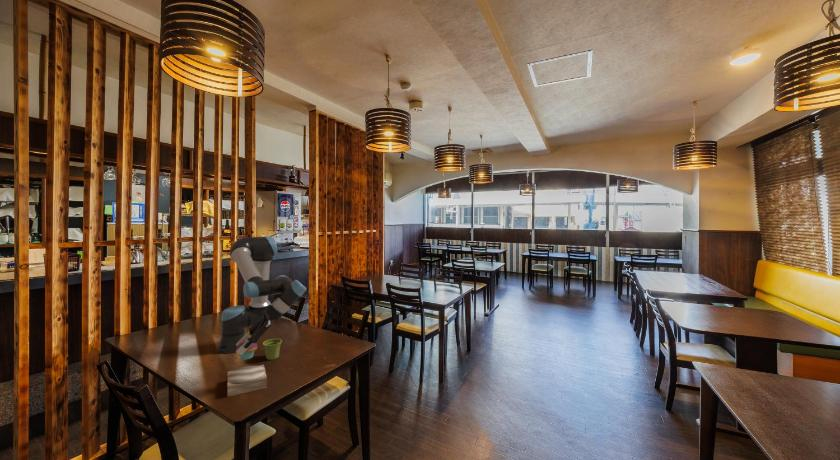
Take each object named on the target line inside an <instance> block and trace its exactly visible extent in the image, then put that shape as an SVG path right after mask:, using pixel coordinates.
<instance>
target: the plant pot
mask: <svg viewBox="0 0 840 460" xmlns="http://www.w3.org/2000/svg"><path fill="white" fill-rule="evenodd" d="M282 342H283V340H282V339H281V338H270V339H267V340H264V341H263V342H262V345H263V347H264V351H265V356H266V358H265V359H266V360H270V361H273V360H276V359H278V358H279V357H280V349H281V344H282Z"/></svg>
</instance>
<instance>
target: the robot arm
mask: <svg viewBox="0 0 840 460" xmlns="http://www.w3.org/2000/svg"><path fill="white" fill-rule="evenodd" d="M277 255H278V246H277V242H276V239H275V238H274V237H272V236H245V237H241V238H238V239H236V241H235V242H233V243H232V245H231V246H230V248H229V256H230V259H231V261H233V262H234V263H235V264H236V266H237V268H238V271H239V272H240V274H241V276H242V278H243V280H244V284H243V286H242V289H243V296H244V297H245V298H246V299H251V300H250V301H249V302H248V306H245V305H243V304H241V305H240V304H239V305H237V304H236V305H233V306H229V307H227V308H225V309H224V310H223V311H222V312H221V315H220V316H221V317H220V320H221V321H220V322H221V324H220V325H221V329H220V330H221V331H220V332H221V333H220V335H221V337H220V340H219V341H218V342H219V343H218V346H217V352H219V353H220V354H232V353H237V354H238V355H239V354H240V355H242V354H243V353H244V352H245V351H246V350H247V349H248V348H249V347H250V346H251V345H252V344H253V343H257V342H258V341H259V340H260V339H261V338H262V336H263V335H264V334H265V333H266V331H268V329H270V327H272V322H273V321H274V320H275V321H279V320H280V319H281V318H282V317H283V316H284V314H286V312H287V311H290V308H292V307H293V305H294V304H296V303H297V301H298V300H299V299H300V298H301V297H302V296H303V295H304V294H305V292H307V287H306V286H305V285H303V284H302V282H300V280H298V279H294V280H292V278H290V277H288V276H286V275H285V274H283V275H278V276H277V277H276V278H274V279H270V268H271V267H270V266H271V262H272V261H273V259H274V257H276V256H277ZM274 295H279V296H278V297H276V298H275V299H274V301H273V302H272V303H271V301H270V300H269V296H274ZM246 328H248V331H250V333H249V338H248V332H246ZM247 339H248V340H247ZM242 342H245V343H244V344H243V345H242V346H241V347H240V348H239V349H238V350H237V351H236V347H237V346H238V345H239V344H241V343H242ZM240 355H239V356H240Z"/></svg>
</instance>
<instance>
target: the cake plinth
mask: <svg viewBox="0 0 840 460" xmlns="http://www.w3.org/2000/svg"><path fill="white" fill-rule="evenodd" d="M267 388H268V377H267V373H266V368H265V365H264V364H262V365H248V366H243V367H239V368H236V369H235V370H231V371H227V397H229V398H230V397H234V396H237V395H242V394H246V393H249V392H255V391H259V390H263V389H267Z"/></svg>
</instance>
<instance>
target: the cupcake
mask: <svg viewBox="0 0 840 460" xmlns="http://www.w3.org/2000/svg"><path fill="white" fill-rule="evenodd" d="M247 333H248V338H249V333H250V331H249V330H248V331H247ZM247 340H248V339H247ZM244 343H245V342H242V343H241V344H239V345H238V346H237V347H236V351H237V350H238V349H239V348H240V347H241V346H242V345H243V344H244ZM257 349H258V343H257V342H256V343H253V344H252V345H251V346H250V347H249V348H248V349H247V350H246V351H245V352H244V353H243V354H242V355H240V354H238V355H239V357H240V359H241V360H243V361H244V360H250V359H252V358H253V357H254V354H255V351H256V350H257Z"/></svg>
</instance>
